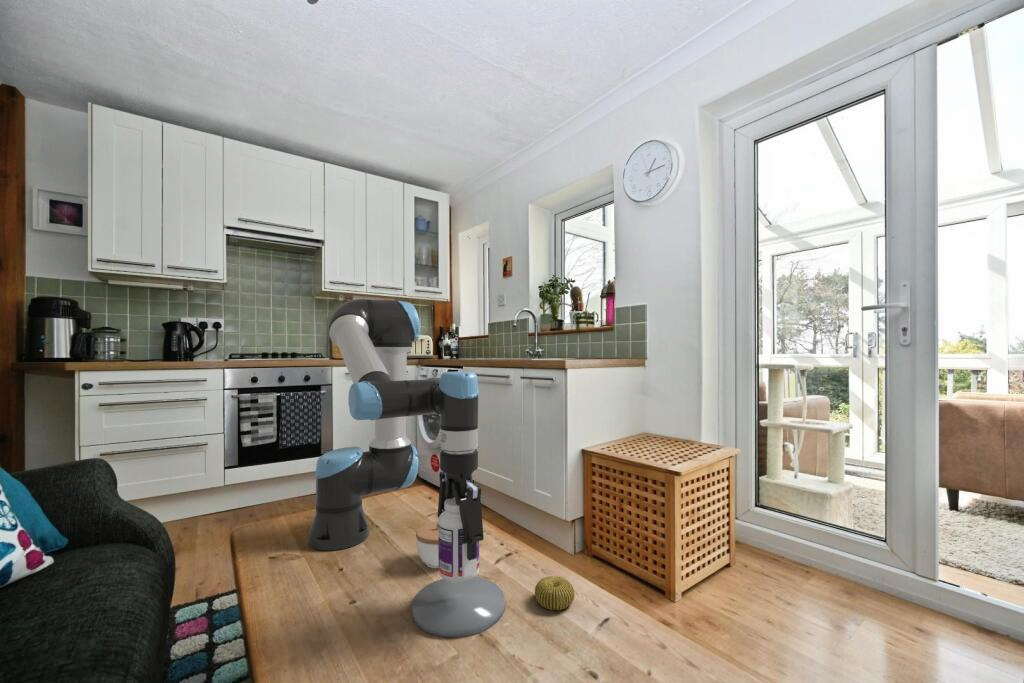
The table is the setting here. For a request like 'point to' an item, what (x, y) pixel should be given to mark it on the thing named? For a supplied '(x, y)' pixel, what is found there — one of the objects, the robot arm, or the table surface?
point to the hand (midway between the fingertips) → (459, 564)
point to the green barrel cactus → (554, 593)
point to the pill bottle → (452, 543)
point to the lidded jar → (428, 544)
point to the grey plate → (458, 607)
